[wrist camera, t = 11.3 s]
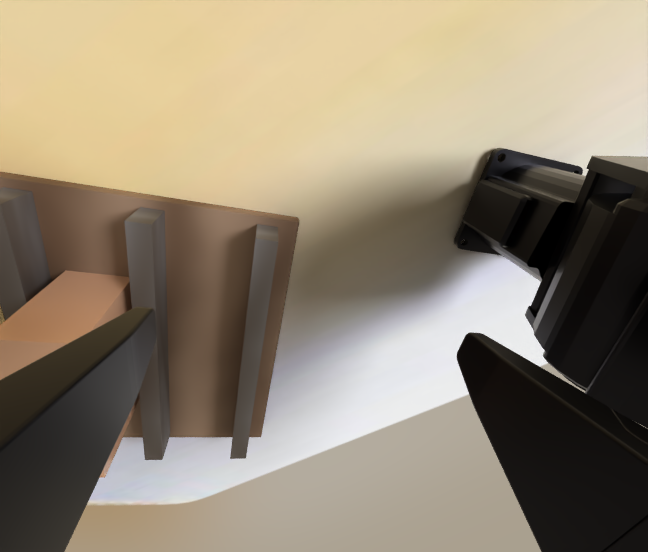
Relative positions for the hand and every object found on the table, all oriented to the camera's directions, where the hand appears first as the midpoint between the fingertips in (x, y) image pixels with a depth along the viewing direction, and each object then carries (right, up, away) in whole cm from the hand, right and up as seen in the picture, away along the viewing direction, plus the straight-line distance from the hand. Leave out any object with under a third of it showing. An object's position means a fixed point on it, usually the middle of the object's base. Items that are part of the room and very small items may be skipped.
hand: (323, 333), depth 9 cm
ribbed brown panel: (-11, -3, +13) cm, 18 cm away
